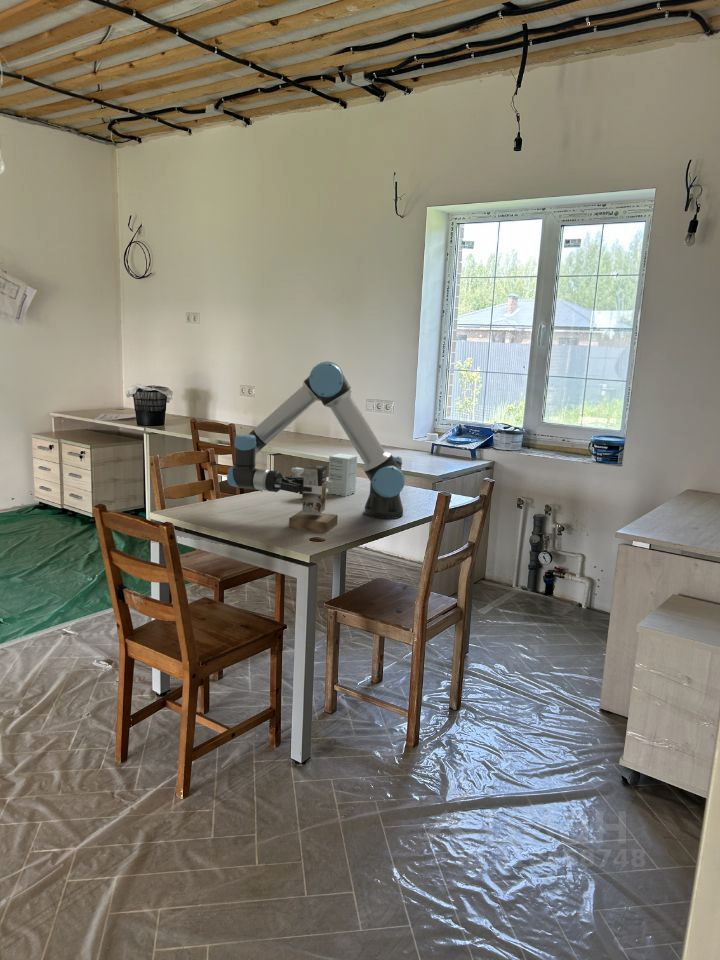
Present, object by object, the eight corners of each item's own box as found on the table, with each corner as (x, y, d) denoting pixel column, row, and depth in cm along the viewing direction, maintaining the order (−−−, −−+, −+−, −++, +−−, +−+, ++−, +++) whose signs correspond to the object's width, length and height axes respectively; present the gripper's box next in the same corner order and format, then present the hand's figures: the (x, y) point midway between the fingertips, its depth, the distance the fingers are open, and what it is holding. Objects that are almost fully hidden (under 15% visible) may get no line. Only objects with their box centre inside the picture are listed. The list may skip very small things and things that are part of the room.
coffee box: (319, 515, 233) (321, 469, 230) (301, 513, 234) (303, 467, 231) (325, 509, 242) (327, 465, 239) (308, 507, 243) (310, 463, 240)
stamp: (309, 486, 305) (310, 468, 303) (299, 488, 300) (300, 470, 298) (295, 483, 310) (295, 465, 309) (285, 485, 305) (285, 467, 303)
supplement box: (337, 490, 300) (339, 453, 297) (355, 493, 297) (357, 455, 293) (327, 494, 292) (328, 455, 289) (346, 497, 288) (347, 458, 285)
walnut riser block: (337, 525, 243) (337, 514, 242) (326, 533, 232) (327, 522, 231) (300, 521, 247) (301, 510, 246) (288, 529, 235) (289, 518, 234)
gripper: (281, 485, 253) (337, 492, 246) (254, 496, 232) (314, 504, 225) (282, 465, 251) (338, 472, 244) (254, 475, 231) (315, 482, 224)
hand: (326, 487), depth 235 cm, fingers closed on coffee box, 9 cm apart
